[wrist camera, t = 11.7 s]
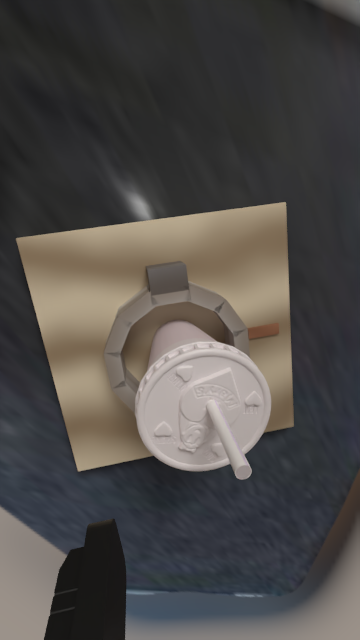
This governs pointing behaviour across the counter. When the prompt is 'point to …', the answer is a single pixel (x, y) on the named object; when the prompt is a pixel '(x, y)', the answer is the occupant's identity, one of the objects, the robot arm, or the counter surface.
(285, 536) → the counter surface
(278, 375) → the holder
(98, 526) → the robot arm
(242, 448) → the smoothie
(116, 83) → the counter surface
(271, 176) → the counter surface
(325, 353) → the counter surface
